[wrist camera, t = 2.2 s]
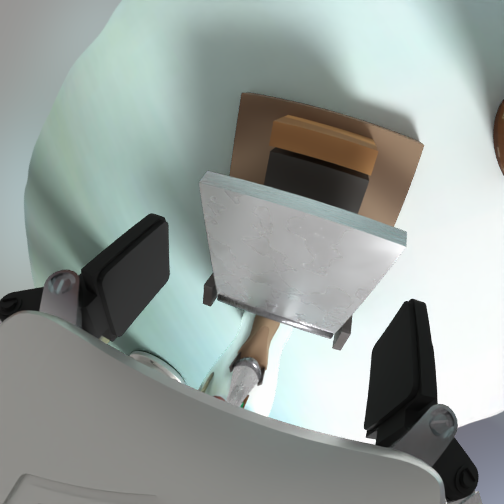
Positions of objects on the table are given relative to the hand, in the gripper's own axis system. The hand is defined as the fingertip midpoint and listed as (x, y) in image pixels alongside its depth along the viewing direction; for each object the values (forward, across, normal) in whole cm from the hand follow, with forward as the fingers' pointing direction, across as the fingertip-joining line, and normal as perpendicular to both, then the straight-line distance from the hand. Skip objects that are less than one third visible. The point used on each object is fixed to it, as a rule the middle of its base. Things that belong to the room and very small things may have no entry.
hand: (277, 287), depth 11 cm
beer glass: (+15, +1, +19) cm, 24 cm away
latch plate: (+15, 0, +5) cm, 16 cm away
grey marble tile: (+9, 0, +6) cm, 10 cm away
